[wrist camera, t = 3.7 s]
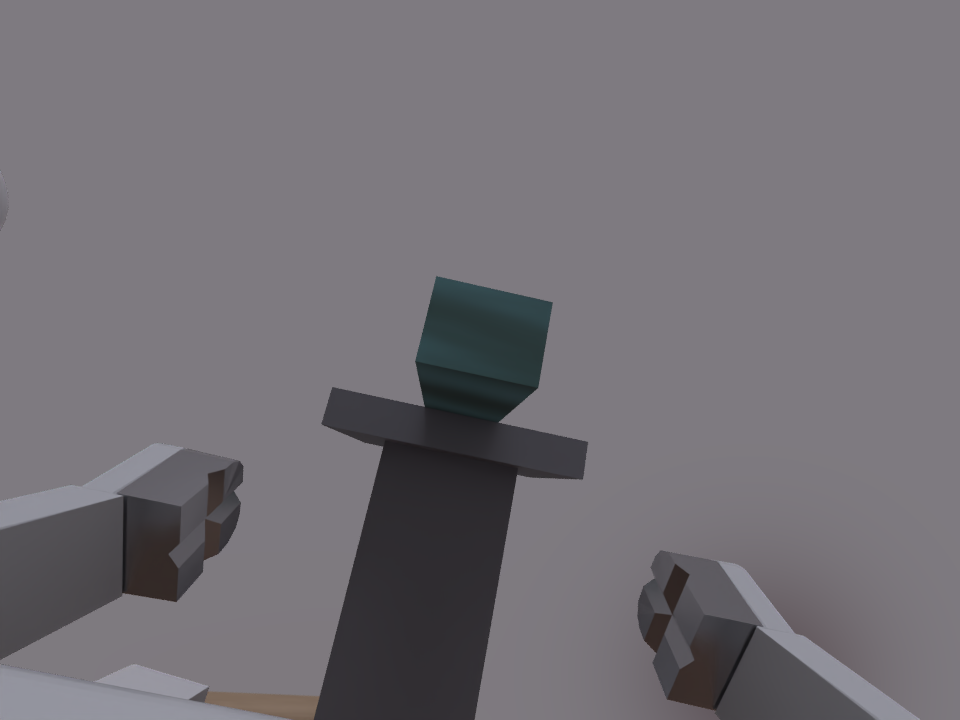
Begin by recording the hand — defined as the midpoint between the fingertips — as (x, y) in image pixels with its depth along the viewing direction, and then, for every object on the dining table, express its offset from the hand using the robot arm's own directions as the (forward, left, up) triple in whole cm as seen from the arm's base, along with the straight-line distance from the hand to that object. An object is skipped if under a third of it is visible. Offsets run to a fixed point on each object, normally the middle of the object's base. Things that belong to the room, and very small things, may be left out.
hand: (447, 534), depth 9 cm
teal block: (-13, +13, +4) cm, 19 cm away
